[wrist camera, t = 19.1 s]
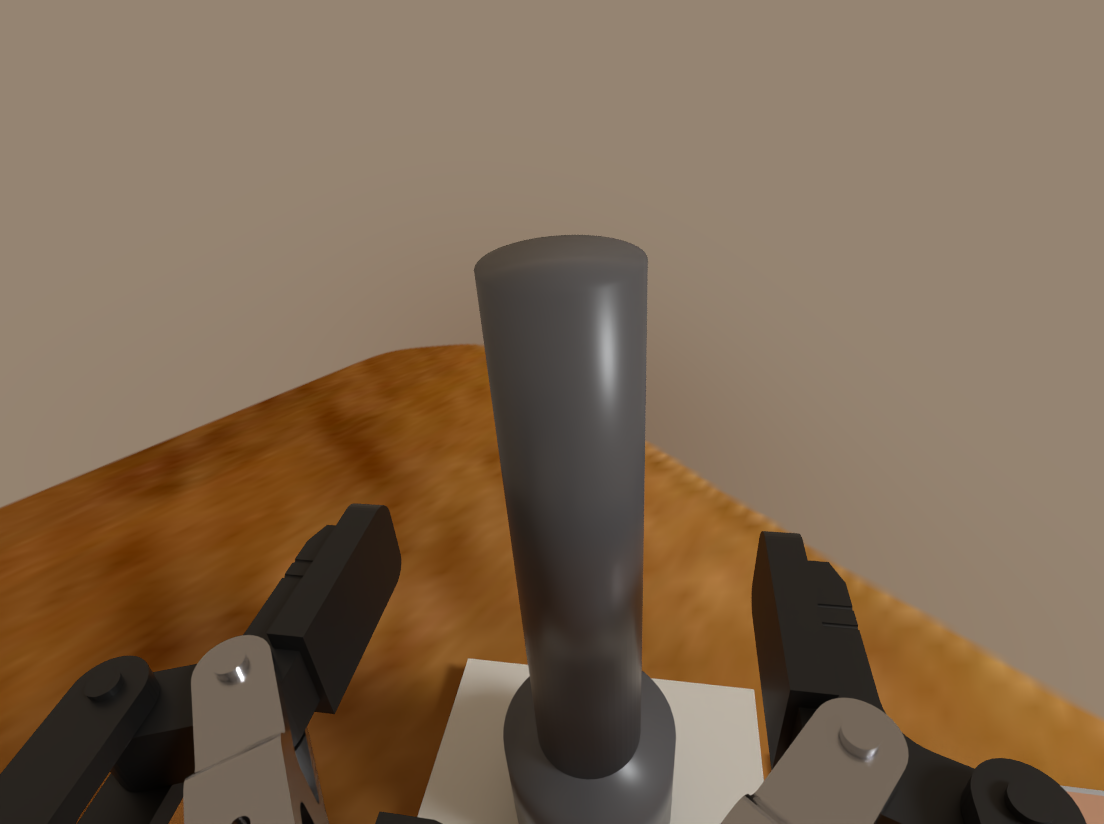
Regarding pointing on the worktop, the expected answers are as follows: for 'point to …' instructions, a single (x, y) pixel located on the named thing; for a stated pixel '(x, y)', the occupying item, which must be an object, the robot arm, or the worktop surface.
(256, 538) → the worktop surface
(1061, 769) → the worktop surface
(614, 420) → the grey pestle
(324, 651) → the robot arm
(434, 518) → the worktop surface
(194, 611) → the worktop surface
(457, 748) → the board
